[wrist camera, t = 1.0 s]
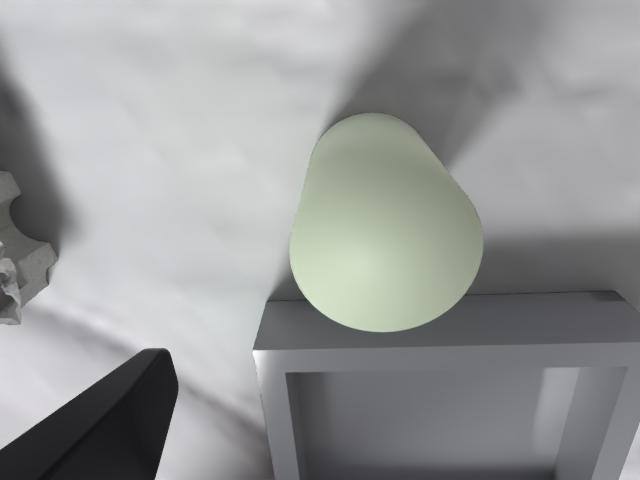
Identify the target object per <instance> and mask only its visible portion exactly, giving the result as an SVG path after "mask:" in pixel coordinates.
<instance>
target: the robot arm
mask: <svg viewBox="0 0 640 480" xmlns="http://www.w3.org/2000/svg"><path fill="white" fill-rule="evenodd" d="M177 395H178V380H177V376H176V372H175V369H174V365H173V361H172V358H171V355H170V352H169V351H168V350H167V349H165V348H148V349H144V350H142V351H140V352H139V353H138V354H136V355H135V356H133V357H132V358H130V359H129V360H128V361H126V362H125V363H123V364H122V365H121V366H119V367H118V368H116V369H115V370H113V371H112V372H111V373H109V374H108V375H106V376H105V377H103V378H102V379H101V380H99V381H98V382H96V383H95V384H93V385H92V386H91V387H89V388H88V389H86V390H85V391H83V392H82V393H81V394H79V395H78V396H76V397H75V398H73V399H72V400H71V401H69V402H68V403H66V404H65V405H64V406H62V407H61V408H59V409H58V410H56V411H55V412H54V413H52V414H51V415H49V416H48V417H46V418H45V419H44V420H42V421H41V422H39V423H38V424H36V425H35V426H34V427H32V428H31V429H29V430H28V431H26V432H25V433H24V434H22V435H21V436H19V437H18V438H16V439H15V440H14V441H12V442H11V443H9V444H8V445H7V446H5V447H4V448H2V449H1V450H0V480H155V477H156V473H157V470H158V466H159V463H160V459H161V455H162V452H163V448H164V444H165V440H166V437H167V433H168V429H169V426H170V422H171V418H172V414H173V411H174V407H175V403H176V399H177Z"/></svg>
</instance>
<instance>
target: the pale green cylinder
mask: <svg viewBox="0 0 640 480" xmlns="http://www.w3.org/2000/svg"><path fill="white" fill-rule="evenodd" d="M482 254H483V231H482V226H481V222H480V219H479V216H478V214H477V212H476V209H475V207H474V205H473V204H472V202H471V201H470V199H469V198H468V196H467V195H466V194H465V192H464V191H463V190H462V189H461V187H460V186H459V185H458V184H457V182H456V181H455V180H454V178H453V177H452V176H451V175H450V173H449V172H448V171H447V170H446V168H445V167H444V166H443V165H442V163H441V162H440V161H439V159H438V158H437V157H436V156H435V154H434V153H433V152H432V151H431V149H430V148H429V147H428V145H427V144H426V143H425V142H424V140H423V139H422V138H421V137H420V135H419V134H418V133H417V132H416V131H415V130H414V129H413V128H412V127H411V126H410V125H409V124H407V123H406V122H404V121H402V120H401V119H399V118H396V117H394V116H391V115H388V114H384V113H377V112H367V113H360V114H356V115H352V116H349V117H347V118H345V119H342V120H341V121H339V122H337V123H336V124H334V125H333V126H332V127H330V128H329V129H328V130H327V131H326V132H325V133H324V134H323V135H322V137H321V138H320V139H319V141H318V142H317V144H316V146H315V148H314V150H313V152H312V155H311V158H310V162H309V166H308V170H307V174H306V178H305V182H304V186H303V189H302V193H301V197H300V201H299V205H298V209H297V213H296V217H295V221H294V225H293V228H292V232H291V236H290V245H289V255H290V263H291V269H292V272H293V275H294V278H295V280H296V282H297V284H298V286H299V288H300V290H301V291H302V293H303V294H304V296H305V297H306V298H307V299H308V300H309V302H310V303H311V304H312V305H313V306H314V307H315V308H317V309H318V310H319V311H320V312H321V313H323V314H324V315H326V316H327V317H329V318H330V319H332V320H334V321H336V322H338V323H340V324H343V325H345V326H348V327H351V328H355V329H359V330H363V331H371V332H393V331H401V330H406V329H410V328H413V327H417V326H420V325H422V324H425V323H427V322H430V321H431V320H433V319H435V318H437V317H439V316H440V315H442V314H443V313H445V312H446V311H448V310H449V309H450V308H451V307H452V306H454V305H455V304H456V303H457V302H458V301H459V300H460V299H461V298H462V297H463V295H464V294H465V293H466V292H467V290H468V289H469V287H470V286H471V284H472V283H473V281H474V279H475V277H476V275H477V273H478V270H479V267H480V264H481V260H482Z"/></svg>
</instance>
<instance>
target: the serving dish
mask: <svg viewBox="0 0 640 480" xmlns="http://www.w3.org/2000/svg"><path fill="white" fill-rule="evenodd" d="M253 356H254V361H255V367H256V373H257V379H258V384H259V390H260V396H261V401H262V407H263V413H264V419H265V424H266V430H267V436H268V441H269V447H270V453H271V459H272V464H273V470H274V476H275V480H618V479H619V477H620V474H621V471H622V469H623V466H624V463H625V460H626V458H627V455H628V452H629V450H630V447H631V444H632V442H633V439H634V436H635V433H636V431H637V428H638V425H639V423H640V313H638V312H637V311H636V310H635V309H634V308H633V307H632V306H631V305H630V304H629V303H628V302H627V301H626V300H625V299H623V298H622V297H621V296H620V295H619V294H618V293H617V292H616V291H596V292H563V293H530V294H497V295H463V297H462V298H461V299H460V300H459V301H458V302H457V303H456V304H455V305H454V306H452V307H451V308H450V309H449V310H448V311H446V312H445V313H443V314H442V315H440V316H439V317H437V318H435V319H433V320H431V321H430V322H427V323H425V324H422V325H420V326H417V327H413V328H410V329H406V330H401V331H393V332H371V331H363V330H359V329H355V328H351V327H348V326H345V325H343V324H340V323H338V322H336V321H334V320H332V319H330V318H329V317H327V316H326V315H324V314H323V313H321V312H320V311H319V310H318V309H317V308H315V307H314V306H313V305H312V304H311V303H310V302H309V300H297V301H267V302H266V305H265V309H264V312H263V316H262V319H261V323H260V326H259V330H258V333H257V337H256V340H255V344H254V347H253Z"/></svg>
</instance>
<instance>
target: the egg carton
mask: <svg viewBox="0 0 640 480" xmlns="http://www.w3.org/2000/svg"><path fill="white" fill-rule="evenodd" d="M20 194H21V191H20V189H19V187H18V185H17V183H16V182H15V180H14V178H13V176H12V175H11V173H10V172H5V171H0V324H2V323H3V324H7V325H19V324H21V308H22V307H23V306H24V305H25V304H26V303H27V302H28V301H30V300H31V299H32V298H33V297H35V296H36V295H37V294H38V293H39V292H40V291H41V290H43V289H44V288H45V287H47V286H48V282H47V276H46V274H47V269H48V268H49V267H51V266H52V265H54V264H55V263H56V262H57V261H58V257H57V255H56V253H55V251H54V250H53V248H52V246H51V245H50V243H49V242H43V241H37V240H34V239H31V238H29V237H27V236H25V235H23V234H22V233H21V232H20V231H19V230H18V229H17V228H16V227H15V225H14V223H13V221H12V220H11V217H10V214H9V207H10V204H11V202H12V201H13V199H14V198H15V197H17V196H19V195H20Z"/></svg>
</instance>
